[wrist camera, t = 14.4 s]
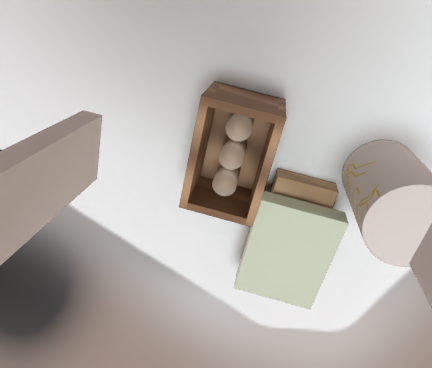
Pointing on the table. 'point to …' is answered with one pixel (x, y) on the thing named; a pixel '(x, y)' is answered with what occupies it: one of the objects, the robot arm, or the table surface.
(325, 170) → the table surface
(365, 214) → the cup
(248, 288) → the lid
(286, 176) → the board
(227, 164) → the box
